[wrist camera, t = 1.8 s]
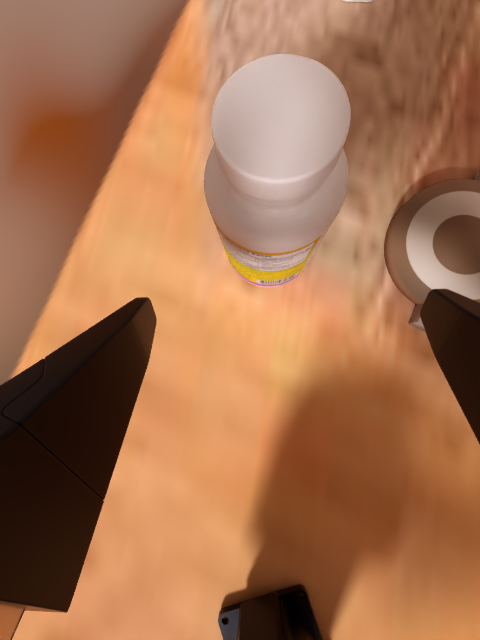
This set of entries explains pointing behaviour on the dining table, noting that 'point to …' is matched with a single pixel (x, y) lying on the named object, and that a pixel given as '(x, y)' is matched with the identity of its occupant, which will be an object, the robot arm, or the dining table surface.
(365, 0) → the perfume bottle
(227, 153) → the supplement bottle
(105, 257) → the dining table surface
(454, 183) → the post base
